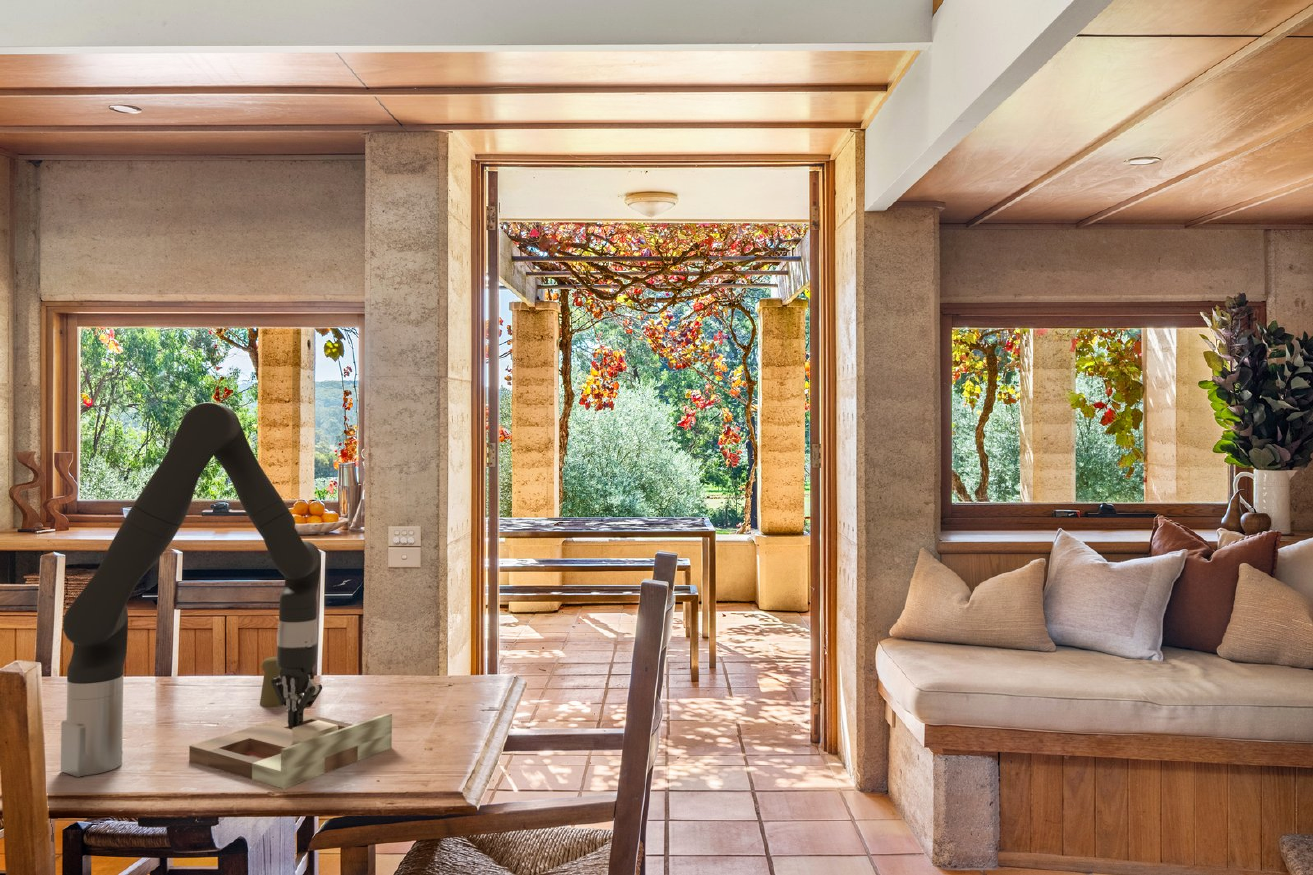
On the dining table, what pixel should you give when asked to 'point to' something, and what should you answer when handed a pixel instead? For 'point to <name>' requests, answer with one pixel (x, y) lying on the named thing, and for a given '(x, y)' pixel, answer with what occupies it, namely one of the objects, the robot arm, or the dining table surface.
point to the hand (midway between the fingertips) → (295, 728)
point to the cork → (269, 683)
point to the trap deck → (292, 750)
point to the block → (311, 731)
